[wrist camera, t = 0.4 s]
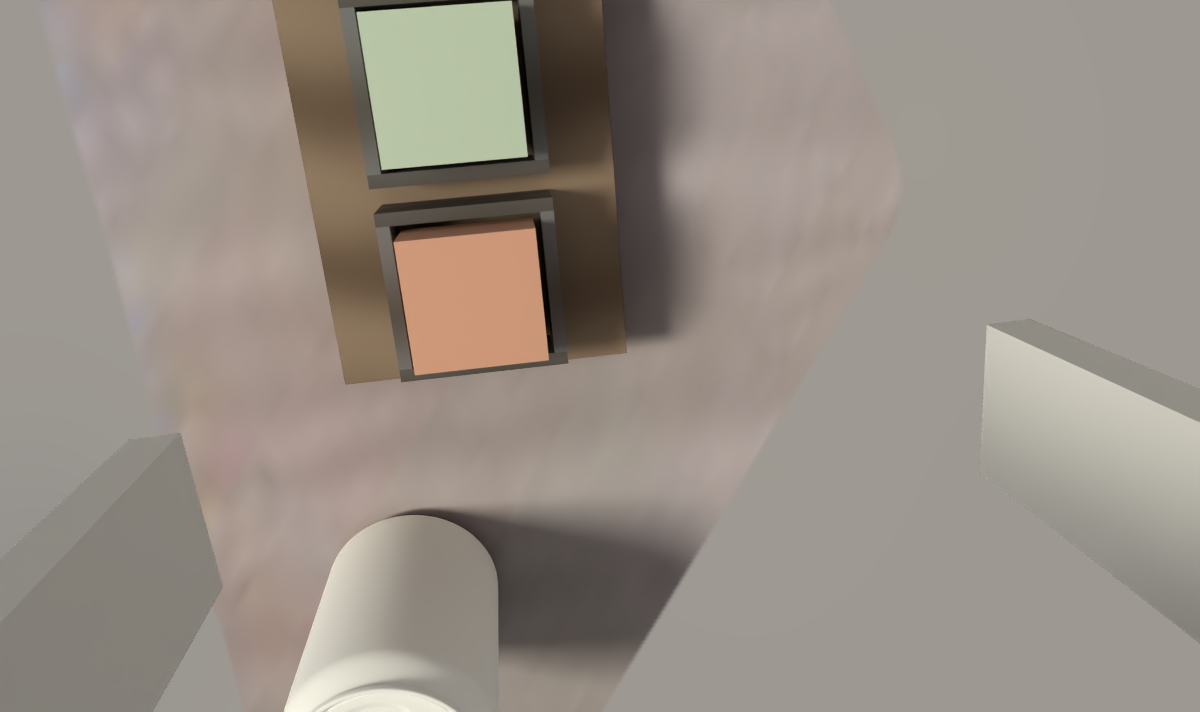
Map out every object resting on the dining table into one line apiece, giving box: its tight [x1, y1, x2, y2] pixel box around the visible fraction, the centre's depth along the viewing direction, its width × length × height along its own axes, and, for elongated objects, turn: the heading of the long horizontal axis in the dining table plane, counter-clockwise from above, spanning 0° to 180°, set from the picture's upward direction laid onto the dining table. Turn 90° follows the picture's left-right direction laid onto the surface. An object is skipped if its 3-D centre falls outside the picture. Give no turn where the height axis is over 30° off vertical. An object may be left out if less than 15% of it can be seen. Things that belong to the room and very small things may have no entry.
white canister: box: [284, 515, 499, 712], centre depth 35 cm, size 8×8×12 cm
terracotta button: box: [393, 217, 549, 375], centre depth 31 cm, size 5×5×2 cm
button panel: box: [272, 0, 627, 385], centre depth 32 cm, size 23×12×5 cm, turn 4°
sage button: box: [356, 1, 528, 170], centre depth 29 cm, size 5×5×2 cm
